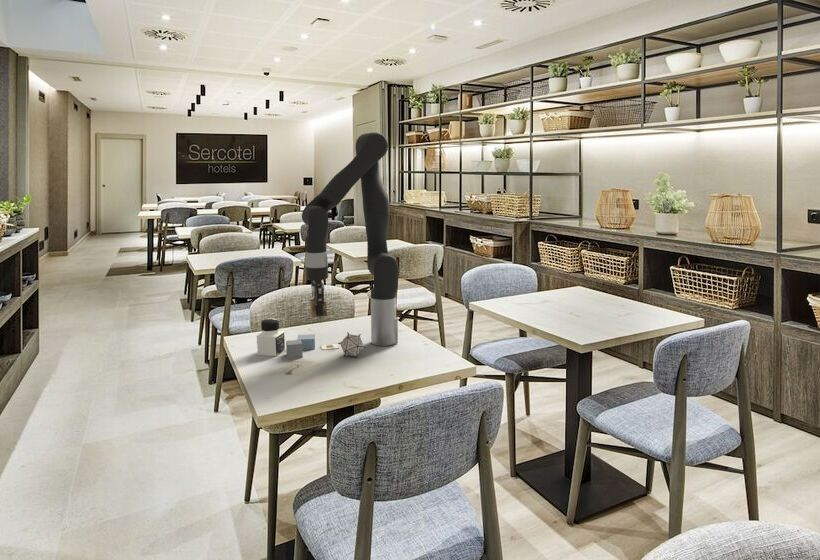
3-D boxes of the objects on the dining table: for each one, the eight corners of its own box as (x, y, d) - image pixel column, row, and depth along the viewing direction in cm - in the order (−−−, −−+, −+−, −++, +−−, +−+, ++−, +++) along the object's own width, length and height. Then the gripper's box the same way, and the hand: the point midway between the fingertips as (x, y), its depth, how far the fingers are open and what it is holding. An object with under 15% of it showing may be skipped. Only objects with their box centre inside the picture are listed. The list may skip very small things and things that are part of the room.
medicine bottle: (276, 356, 194) (275, 323, 191) (257, 355, 195) (255, 321, 193) (285, 350, 201) (283, 317, 198) (266, 349, 202) (264, 316, 200)
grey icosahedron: (357, 365, 196) (375, 343, 195) (345, 364, 188) (363, 340, 187) (341, 349, 200) (358, 327, 199) (328, 347, 192) (346, 324, 191)
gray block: (301, 353, 198) (300, 339, 197) (302, 357, 193) (302, 343, 192) (286, 354, 196) (286, 340, 195) (287, 359, 192) (287, 345, 191)
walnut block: (324, 312, 198) (324, 298, 197) (326, 316, 193) (326, 301, 192) (310, 313, 196) (309, 299, 195) (312, 317, 192) (311, 302, 191)
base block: (315, 344, 208) (314, 334, 207) (314, 349, 202) (314, 338, 201) (298, 345, 207) (298, 334, 206) (297, 350, 201) (297, 339, 200)
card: (337, 344, 207) (337, 343, 207) (339, 348, 202) (339, 347, 202) (320, 346, 205) (320, 345, 205) (322, 349, 201) (322, 348, 201)
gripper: (330, 267, 186) (332, 317, 189) (324, 261, 199) (326, 307, 203) (307, 269, 184) (310, 319, 187) (303, 262, 197) (305, 309, 200)
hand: (318, 313), depth 195 cm, fingers closed on walnut block, 5 cm apart
